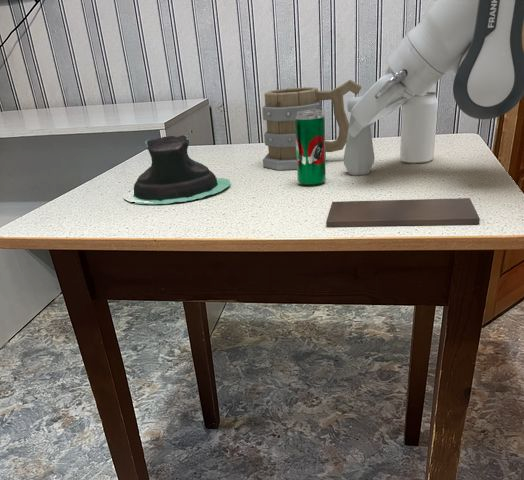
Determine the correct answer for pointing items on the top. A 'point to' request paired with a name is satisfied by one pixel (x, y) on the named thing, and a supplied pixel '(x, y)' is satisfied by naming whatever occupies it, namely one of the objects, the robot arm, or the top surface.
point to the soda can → (310, 147)
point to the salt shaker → (358, 147)
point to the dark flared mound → (175, 174)
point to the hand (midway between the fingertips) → (355, 132)
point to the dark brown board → (402, 213)
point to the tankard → (283, 121)
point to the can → (419, 128)
